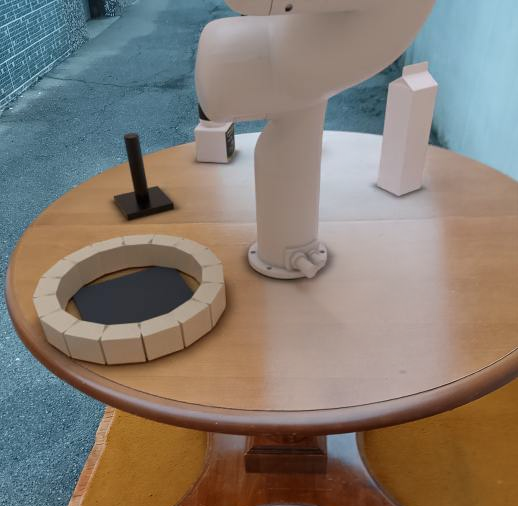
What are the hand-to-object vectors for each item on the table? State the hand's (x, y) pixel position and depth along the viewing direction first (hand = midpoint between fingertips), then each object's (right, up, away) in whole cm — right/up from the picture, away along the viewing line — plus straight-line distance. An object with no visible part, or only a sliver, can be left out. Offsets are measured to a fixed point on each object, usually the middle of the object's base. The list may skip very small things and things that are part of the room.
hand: (266, 39), depth 80 cm
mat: (-19, -40, -2) cm, 44 cm away
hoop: (-19, -40, -2) cm, 44 cm away
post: (-23, -19, +23) cm, 38 cm away
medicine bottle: (-11, -3, +41) cm, 42 cm away
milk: (+26, -15, +25) cm, 39 cm away
